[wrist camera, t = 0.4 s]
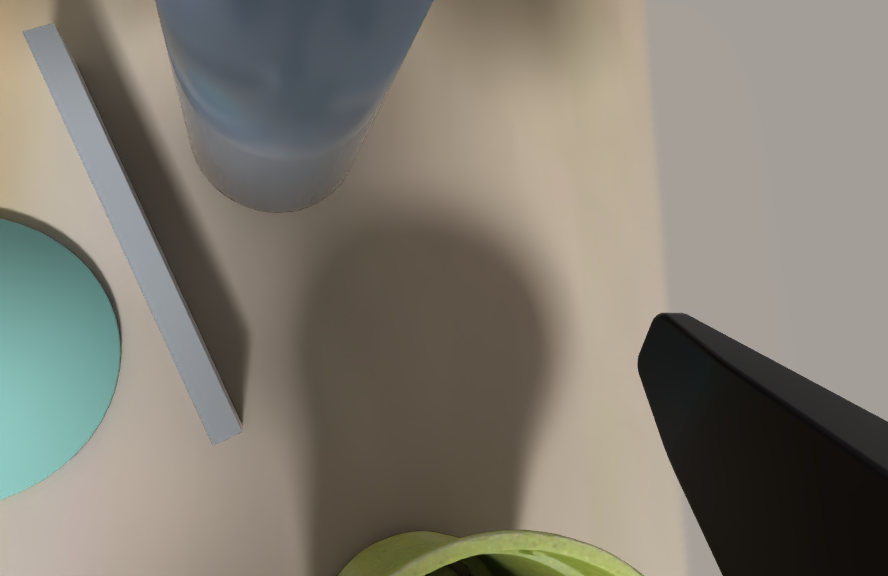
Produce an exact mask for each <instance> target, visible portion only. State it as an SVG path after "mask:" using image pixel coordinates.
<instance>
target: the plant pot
mask: <svg viewBox="0 0 888 576" xmlns="http://www.w3.org/2000/svg"><path fill="white" fill-rule="evenodd" d="M456 561H461V562H462V563H464V564H465V565H466V566H467V567H468V569H469V570H470V572H471V576H644V575H642V574H641V573H640V572H639V571H637V570H636V569H635V568H633V567H632V566H630V565H629V564H627V563H626V562H624V561H623V560H621V559H619V558H618V557H616V556H614V555H612V554H611V553H609V552H607V551H605V550H603V549H601V548H598V547H596V546H593V545H591V544H588V543H585V542H582V541H579V540H575V539H572V538H568V537H565V536H561V535H558V534H553V533H547V532H539V531H530V530H504V531H492V532H484V533H479V534H474V535H469V536H465V537H461V538H458V537H454V536H450V535H446V534H441V533H437V532H431V531H413V532H408V533H403V534H399V535H395V536H392V537H389V538H387V539H384V540H381V541H379V542H376V543H374V544H372V545H371V546H369V547H367V548H366V549H364V550H363V551H361V552H360V553H359V554H358V555H357V556H355V557H354V558H353V559H352V560H351V561H350V562H349V563H348V564H347V565H346V566H345V567H344V568H343V570H342V571H341V572H340V573H339V575H338V576H460V575H459V574H457V573H456V571H454V570H453V569H451V568H450V567H448V566H446V565H448V564H451V563H453V562H456Z"/></svg>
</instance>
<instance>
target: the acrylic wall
mask: <svg viewBox="0 0 888 576" xmlns="http://www.w3.org/2000/svg"><path fill="white" fill-rule="evenodd" d="M23 34H24V36H25V38H26V41H27V43H28V45H29V47H30V49H31V51H32V54H33V56H34V58H35V60H36V62H37V64H38V67H39V69H40V71H41V73H42V75H43V77H44V80H45V82H46V84H47V86H48V88H49V91H50V93H51V95H52V97H53V99H54V101H55V104H56V106H57V108H58V110H59V112H60V114H61V117H62V119H63V121H64V123H65V125H66V128H67V130H68V132H69V134H70V136H71V138H72V141H73V143H74V145H75V147H76V149H77V151H78V154H79V156H80V158H81V160H82V162H83V164H84V167H85V169H86V171H87V173H88V175H89V178H90V180H91V182H92V184H93V186H94V188H95V191H96V193H97V195H98V197H99V199H100V201H101V204H102V206H103V208H104V210H105V212H106V215H107V217H108V219H109V221H110V223H111V225H112V228H113V230H114V232H115V234H116V236H117V238H118V241H119V243H120V245H121V247H122V249H123V251H124V254H125V256H126V258H127V260H128V262H129V265H130V267H131V269H132V271H133V273H134V275H135V278H136V280H137V282H138V284H139V286H140V288H141V291H142V293H143V295H144V297H145V299H146V302H147V304H148V306H149V308H150V310H151V312H152V315H153V317H154V319H155V321H156V323H157V325H158V328H159V330H160V332H161V334H162V336H163V338H164V341H165V343H166V345H167V347H168V349H169V352H170V354H171V356H172V358H173V360H174V362H175V365H176V367H177V369H178V371H179V373H180V375H181V378H182V380H183V382H184V384H185V386H186V389H187V391H188V393H189V395H190V397H191V399H192V402H193V404H194V406H195V408H196V410H197V412H198V415H199V417H200V419H201V421H202V423H203V425H204V428H205V430H206V432H207V434H208V436H209V439H210V441H211V443H212V445H213V446H214V445H216V444H218V443H220V442H222V441H224V440H226V439H228V438H231V437H233V436H235V435H237V434H239V433H241V432H242V423H241V421H240V419H239V417H238V415H237V412H236V410H235V408H234V406H233V404H232V402H231V399H230V397H229V395H228V393H227V391H226V389H225V386H224V384H223V382H222V380H221V378H220V375H219V373H218V371H217V369H216V367H215V365H214V362H213V360H212V358H211V356H210V354H209V352H208V349H207V347H206V345H205V343H204V341H203V338H202V336H201V334H200V332H199V330H198V328H197V325H196V323H195V321H194V319H193V317H192V315H191V312H190V310H189V308H188V306H187V304H186V301H185V299H184V297H183V295H182V293H181V291H180V288H179V286H178V284H177V282H176V280H175V278H174V275H173V273H172V271H171V269H170V267H169V264H168V262H167V260H166V258H165V256H164V254H163V251H162V249H161V247H160V245H159V243H158V241H157V238H156V236H155V234H154V232H153V230H152V227H151V225H150V223H149V221H148V219H147V217H146V214H145V212H144V210H143V208H142V206H141V204H140V201H139V199H138V197H137V195H136V193H135V190H134V188H133V186H132V184H131V182H130V180H129V177H128V175H127V173H126V171H125V169H124V167H123V164H122V162H121V160H120V158H119V156H118V153H117V151H116V149H115V147H114V145H113V143H112V140H111V138H110V136H109V134H108V132H107V130H106V127H105V125H104V123H103V121H102V119H101V116H100V114H99V112H98V110H97V108H96V106H95V103H94V101H93V99H92V97H91V95H90V93H89V90H88V88H87V86H86V84H85V82H84V79H83V77H82V75H81V73H80V71H79V69H78V66H77V64H76V62H75V60H74V59H73V57H72V55H71V53H70V51H69V50H68V48H67V46H66V44H65V42H64V40H63V39H62V37H61V35H60V33H59V31H58V30H57V28H56V26H55V24H54V23H52V24H48V25H44V26H41V27H37V28H34V29H30V30H27V31H23Z"/></svg>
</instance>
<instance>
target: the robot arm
mask: <svg viewBox="0 0 888 576" xmlns="http://www.w3.org/2000/svg"><path fill="white" fill-rule="evenodd" d="M638 372H639V375H640V378H641V381H642V384H643V387H644V390H645V393H646V396H647V399H648V401H649V404H650V407H651V410H652V413H653V416H654V419H655V422H656V425H657V428H658V431H659V433H660V436H661V439H662V442H663V445H664V448H665V450H666V453H667V456H668V458H669V461H670V463H671V465H672V467H673V470H674V472H675V474H676V476H677V479H678V481H679V483H680V485H681V487H682V489H683V491H684V494H685V496H686V498H687V500H688V502H689V504H690V506H691V509H692V510H693V513H694V515H695V517H696V519H697V521H698V523H699V526H700V528H701V530H702V532H703V534H704V536H705V539H706V541H707V543H708V545H709V547H710V549H711V551H712V554H713V556H714V558H715V560H716V562H717V564H718V566H719V569H720V571H721V573H722V575H723V576H888V422H887V421H885V420H883V419H882V418H880V417H878V416H876V415H874V414H872V413H870V412H868V411H867V410H865V409H863V408H861V407H859V406H857V405H855V404H854V403H852V402H850V401H847V400H846V399H844V398H842V397H840V396H839V395H837V394H835V393H833V392H831V391H829V390H827V389H826V388H823V387H822V386H820V385H818V384H816V383H814V382H812V381H810V380H809V379H807V378H805V377H803V376H801V375H799V374H797V373H796V372H794V371H792V370H790V369H788V368H786V367H784V366H782V365H781V364H779V363H777V362H775V361H773V360H771V359H769V358H768V357H766V356H764V355H762V354H760V353H758V352H756V351H754V350H753V349H751V348H749V347H747V346H745V345H743V344H741V343H739V342H738V341H736V340H734V339H732V338H730V337H728V336H726V335H725V334H723V333H721V332H719V331H717V330H715V329H713V328H711V327H710V326H708V325H706V324H704V323H702V322H700V321H698V320H697V319H695V318H693V317H691V316H689V315H687V314H683V313H660V314H658V315H657V316H656V317H655V318H654V319H653V321H652V323H651V326H650V328H649V331H648V333H647V336H646V338H645V341H644V343H643V346H642V348H641V351H640V353H639V356H638Z"/></svg>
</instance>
